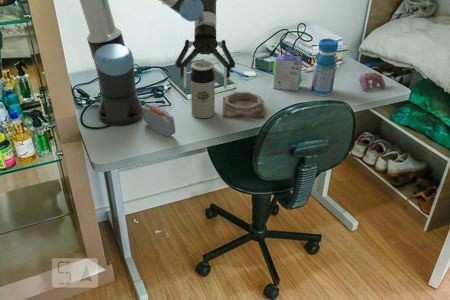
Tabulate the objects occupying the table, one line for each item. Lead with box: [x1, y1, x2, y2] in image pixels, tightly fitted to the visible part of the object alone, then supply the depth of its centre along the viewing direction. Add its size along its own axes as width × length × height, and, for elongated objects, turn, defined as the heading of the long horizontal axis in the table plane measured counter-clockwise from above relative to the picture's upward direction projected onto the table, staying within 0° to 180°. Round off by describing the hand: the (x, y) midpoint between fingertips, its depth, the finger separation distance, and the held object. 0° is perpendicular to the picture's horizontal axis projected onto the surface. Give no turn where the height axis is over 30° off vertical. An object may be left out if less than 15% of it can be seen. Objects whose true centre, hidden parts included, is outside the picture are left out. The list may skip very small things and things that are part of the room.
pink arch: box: [358, 71, 387, 92], centre depth 173 cm, size 10×5×7 cm, turn 109°
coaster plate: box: [222, 91, 265, 119], centre depth 158 cm, size 14×14×4 cm
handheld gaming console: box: [142, 103, 176, 137], centre depth 142 cm, size 14×3×8 cm, turn 45°
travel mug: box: [189, 60, 216, 119], centre depth 150 cm, size 8×8×18 cm
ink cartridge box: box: [273, 49, 303, 92], centre depth 170 cm, size 10×6×14 cm, turn 78°
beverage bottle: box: [310, 38, 339, 97], centre depth 165 cm, size 8×8×20 cm
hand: (205, 86), depth 150 cm, fingers open, 13 cm apart
